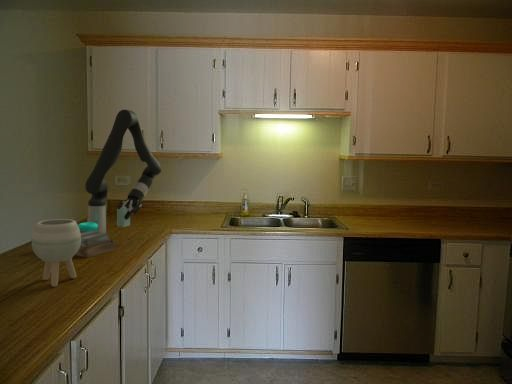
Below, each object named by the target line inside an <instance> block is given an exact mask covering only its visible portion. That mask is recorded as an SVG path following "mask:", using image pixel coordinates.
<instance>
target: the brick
mask: <svg viewBox="0 0 512 384" xmlns="http://www.w3.org/2000/svg"><path fill="white" fill-rule="evenodd" d="M127 212H129V209H124V208H123V209H116V227H122V228H125V227H129V226H131V216H130V217H129V218H128V220H126V219H125V218H124V217H125V215H126V214H127Z"/></svg>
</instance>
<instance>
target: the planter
mask: <svg viewBox="0 0 512 384" xmlns="http://www.w3.org/2000/svg"><path fill="white" fill-rule="evenodd" d="M80 233H81V231H80V230H79V227H78V223H77V221H76V220H74V219H69V218H58V219H57V218H56V219H55V218H54V219H53V218H52V219H45V220H41V221H38V222H36V223H35V225H34V228H33V231H32V236H31V248H32V252H33V253H34V254H35V256H37V258H39V259H40V260H42V262H44V268H43V273H42V280H43V281H47V280H49V279H50V285H51V287H52V288H55V287H57V286H59V284H58V283H59V272H60V263H61V262H64V264H65V266H66V269H67V272H68V274H69V276H70V278H71V279H76V278H77V272H76V269H75V266H74V263H73V257H74V256H76V255H75V254H76V253H77V252H78V250H79V248H80V245H81V234H80Z"/></svg>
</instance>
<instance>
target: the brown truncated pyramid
mask: <svg viewBox="0 0 512 384" xmlns="http://www.w3.org/2000/svg"><path fill="white" fill-rule="evenodd" d="M80 234H81V245H80V248H79V250H78V252H77V253H76V254H75V255H74V256H78V257H82V258H91V257H95V256H97V255H101V254H105V253H108V252H111V251H112V252H113V251H115V250H116V241H115V240H114V239H111V240H110V234H109V233H107V232H106V233H99V232H93V231H88V232H87V231H82V232H80Z"/></svg>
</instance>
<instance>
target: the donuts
mask: <svg viewBox="0 0 512 384" xmlns="http://www.w3.org/2000/svg"><path fill="white" fill-rule="evenodd" d="M77 225H78V227H79V230H80V232H81V231H82V232H87V231H93V230H95V229H97V227H98V225H97V224H96V223H92V222H87V221H86V222H81V223H77Z"/></svg>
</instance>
